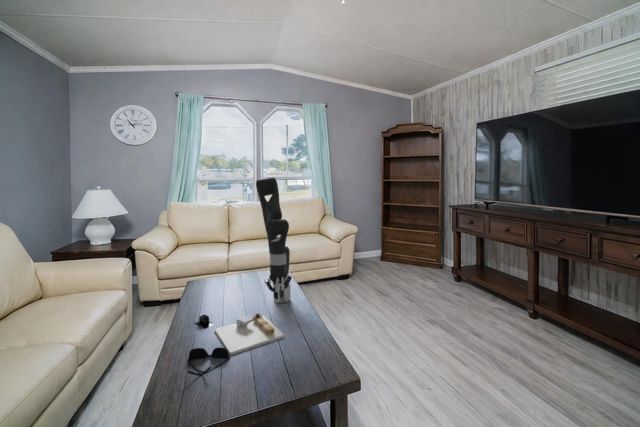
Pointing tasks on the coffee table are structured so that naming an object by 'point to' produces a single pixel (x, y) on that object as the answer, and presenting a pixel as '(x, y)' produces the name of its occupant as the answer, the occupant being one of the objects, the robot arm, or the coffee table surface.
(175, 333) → the coffee table surface
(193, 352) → the sunglasses
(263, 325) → the oak link
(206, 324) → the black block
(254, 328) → the board
